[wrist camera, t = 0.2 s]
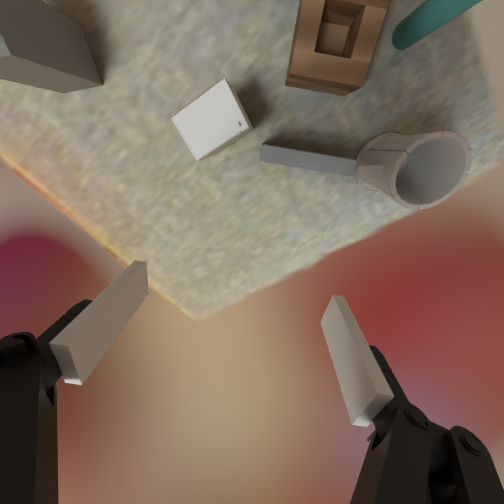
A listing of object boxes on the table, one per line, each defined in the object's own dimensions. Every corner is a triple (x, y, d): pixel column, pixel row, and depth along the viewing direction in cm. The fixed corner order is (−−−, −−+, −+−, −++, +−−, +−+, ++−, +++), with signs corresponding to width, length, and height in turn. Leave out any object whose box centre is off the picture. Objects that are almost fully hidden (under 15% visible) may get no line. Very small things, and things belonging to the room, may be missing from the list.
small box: (236, 92, 32) (225, 74, 23) (254, 130, 35) (251, 127, 25) (193, 122, 34) (168, 116, 25) (213, 156, 37) (196, 162, 27)
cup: (358, 205, 39) (393, 230, 29) (334, 163, 36) (363, 174, 26) (417, 167, 36) (481, 180, 25) (396, 118, 33) (459, 108, 22)
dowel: (398, 17, 28) (482, -58, 17) (420, 21, 28) (517, -51, 17) (388, 47, 29) (459, -4, 19) (409, 51, 29) (492, 2, 19)
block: (300, -2, 27) (310, -40, 22) (369, 11, 28) (396, -23, 22) (284, 85, 32) (289, 73, 26) (344, 96, 32) (362, 86, 26)
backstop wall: (262, 143, 35) (262, 144, 28) (339, 156, 36) (358, 160, 29) (260, 156, 36) (259, 160, 29) (335, 168, 37) (352, 176, 30)
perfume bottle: (37, 34, 30) (-213, -80, 14) (80, 24, 30) (-132, -108, 14) (63, 93, 33) (-119, 51, 17) (103, 85, 33) (-49, 34, 17)
